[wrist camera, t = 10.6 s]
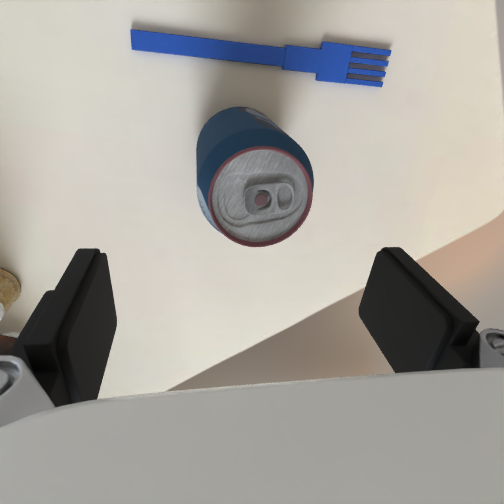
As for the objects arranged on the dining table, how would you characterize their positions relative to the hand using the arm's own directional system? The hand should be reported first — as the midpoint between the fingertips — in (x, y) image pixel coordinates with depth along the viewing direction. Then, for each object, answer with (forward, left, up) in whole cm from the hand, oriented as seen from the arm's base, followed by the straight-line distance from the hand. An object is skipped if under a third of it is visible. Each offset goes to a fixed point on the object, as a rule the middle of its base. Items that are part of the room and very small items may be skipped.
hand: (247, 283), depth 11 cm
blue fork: (-7, +4, -19) cm, 21 cm away
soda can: (0, +2, -19) cm, 20 cm away
